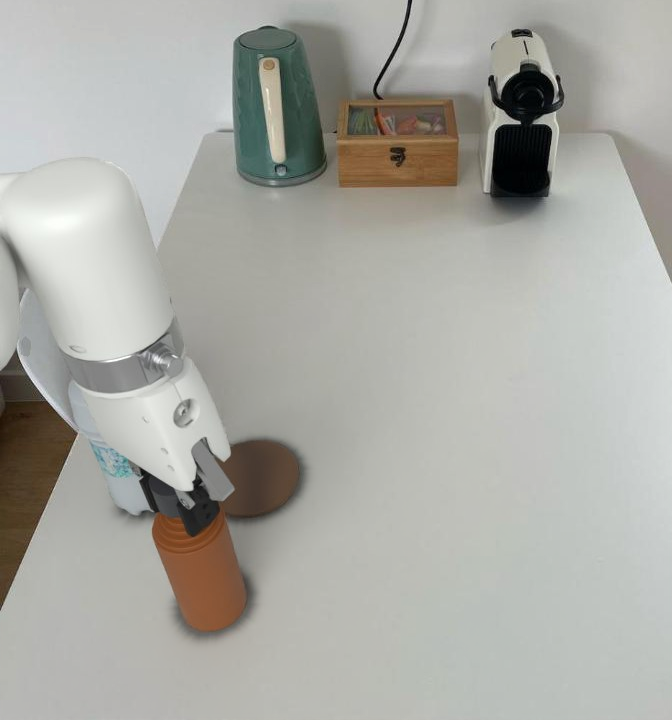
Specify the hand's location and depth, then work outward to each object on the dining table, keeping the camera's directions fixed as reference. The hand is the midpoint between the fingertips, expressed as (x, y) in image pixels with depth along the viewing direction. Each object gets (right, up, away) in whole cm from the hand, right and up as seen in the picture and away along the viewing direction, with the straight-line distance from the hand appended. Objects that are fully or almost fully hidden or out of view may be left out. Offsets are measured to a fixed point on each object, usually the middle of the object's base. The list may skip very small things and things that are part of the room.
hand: (185, 510), depth 66 cm
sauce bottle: (0, -10, +9) cm, 14 cm away
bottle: (-9, -2, +19) cm, 21 cm away
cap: (0, +1, -1) cm, 1 cm away
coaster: (+2, 0, +20) cm, 20 cm away
